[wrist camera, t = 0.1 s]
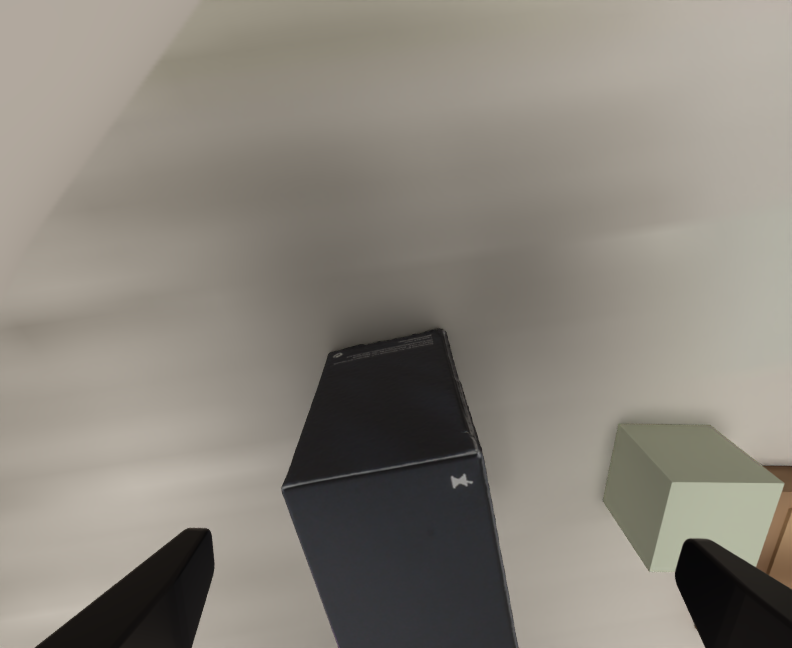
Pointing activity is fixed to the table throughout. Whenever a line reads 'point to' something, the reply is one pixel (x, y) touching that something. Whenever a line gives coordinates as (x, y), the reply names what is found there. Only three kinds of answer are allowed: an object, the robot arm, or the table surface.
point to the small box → (399, 502)
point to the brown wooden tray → (779, 533)
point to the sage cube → (687, 492)
